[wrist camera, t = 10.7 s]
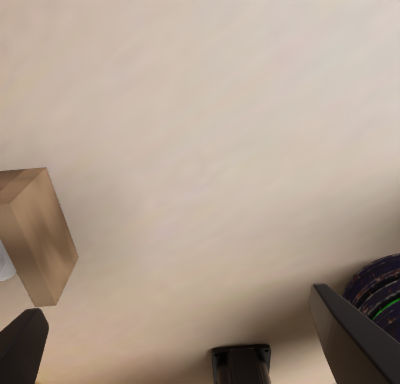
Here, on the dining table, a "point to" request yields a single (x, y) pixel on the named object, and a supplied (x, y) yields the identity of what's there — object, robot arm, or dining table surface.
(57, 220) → the slot bracket
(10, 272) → the bolt
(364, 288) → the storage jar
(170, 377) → the dining table surface
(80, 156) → the dining table surface
